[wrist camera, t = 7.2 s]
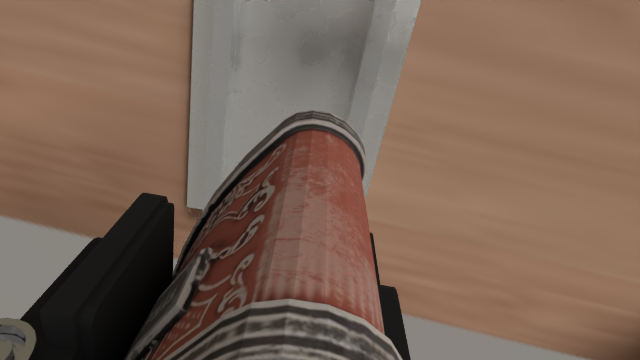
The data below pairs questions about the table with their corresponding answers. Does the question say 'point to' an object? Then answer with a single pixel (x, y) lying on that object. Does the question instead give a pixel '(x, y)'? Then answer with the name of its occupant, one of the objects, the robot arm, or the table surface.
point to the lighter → (278, 259)
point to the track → (289, 75)
